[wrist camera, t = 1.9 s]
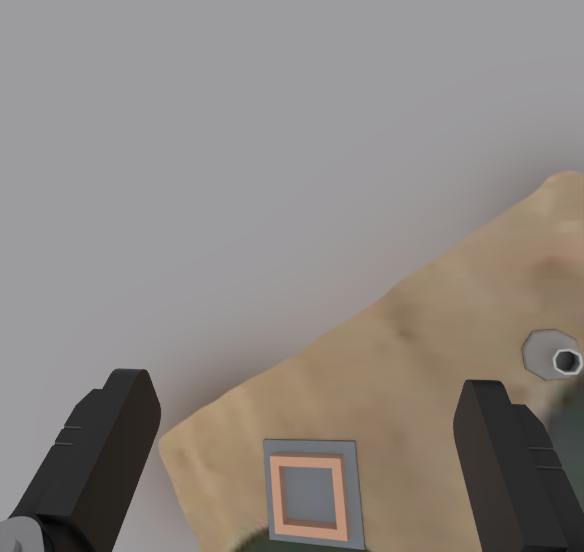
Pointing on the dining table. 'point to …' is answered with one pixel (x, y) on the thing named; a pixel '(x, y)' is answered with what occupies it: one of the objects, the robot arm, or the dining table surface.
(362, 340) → the dining table surface
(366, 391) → the dining table surface
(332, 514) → the tray
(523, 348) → the flask
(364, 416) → the dining table surface
